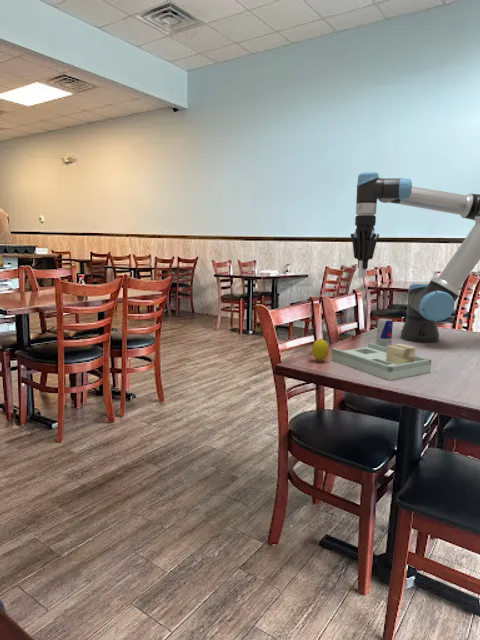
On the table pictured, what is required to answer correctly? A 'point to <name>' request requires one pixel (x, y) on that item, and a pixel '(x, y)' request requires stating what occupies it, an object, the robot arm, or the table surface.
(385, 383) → the table surface
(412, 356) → the maple block
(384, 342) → the energy drink
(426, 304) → the robot arm
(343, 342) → the table surface
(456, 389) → the table surface
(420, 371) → the sage tray
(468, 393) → the table surface
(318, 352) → the lemon
